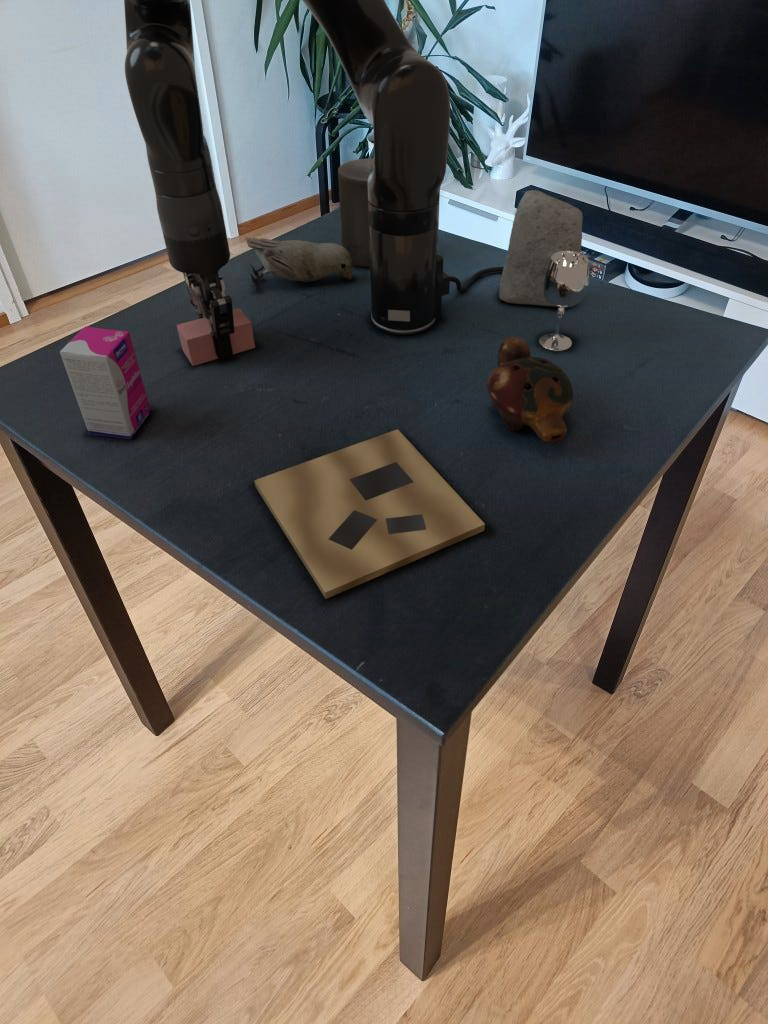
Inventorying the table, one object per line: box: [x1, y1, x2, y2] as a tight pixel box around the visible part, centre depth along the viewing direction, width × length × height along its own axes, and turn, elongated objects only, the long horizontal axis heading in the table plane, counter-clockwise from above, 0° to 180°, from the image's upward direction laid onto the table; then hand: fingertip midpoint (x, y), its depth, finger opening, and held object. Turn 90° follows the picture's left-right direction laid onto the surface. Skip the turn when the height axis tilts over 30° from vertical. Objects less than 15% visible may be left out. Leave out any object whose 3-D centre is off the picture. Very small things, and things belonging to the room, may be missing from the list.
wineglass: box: [538, 251, 590, 352], centre depth 94 cm, size 6×6×12 cm
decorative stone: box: [498, 189, 584, 308], centre depth 101 cm, size 11×6×15 cm, turn 71°
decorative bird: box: [245, 237, 354, 290], centre depth 109 cm, size 5×16×8 cm, turn 95°
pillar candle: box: [337, 158, 374, 268], centre depth 113 cm, size 10×10×15 cm
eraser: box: [176, 308, 256, 367], centre depth 97 cm, size 9×4×4 cm, turn 119°
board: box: [253, 428, 486, 600], centre depth 75 cm, size 18×18×1 cm
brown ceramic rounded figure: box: [487, 336, 574, 444], centre depth 83 cm, size 10×15×8 cm, turn 21°
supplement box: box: [59, 326, 152, 440], centre depth 83 cm, size 6×6×12 cm
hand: (218, 347), depth 98 cm, fingers closed on eraser, 4 cm apart
